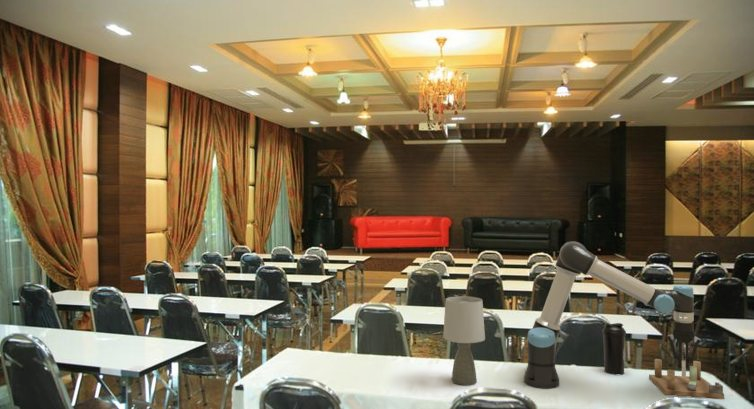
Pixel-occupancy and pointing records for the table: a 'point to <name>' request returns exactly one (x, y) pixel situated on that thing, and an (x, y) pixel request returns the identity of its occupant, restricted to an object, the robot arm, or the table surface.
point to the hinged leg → (692, 378)
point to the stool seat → (684, 383)
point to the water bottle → (614, 348)
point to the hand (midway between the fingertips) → (683, 375)
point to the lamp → (464, 334)
